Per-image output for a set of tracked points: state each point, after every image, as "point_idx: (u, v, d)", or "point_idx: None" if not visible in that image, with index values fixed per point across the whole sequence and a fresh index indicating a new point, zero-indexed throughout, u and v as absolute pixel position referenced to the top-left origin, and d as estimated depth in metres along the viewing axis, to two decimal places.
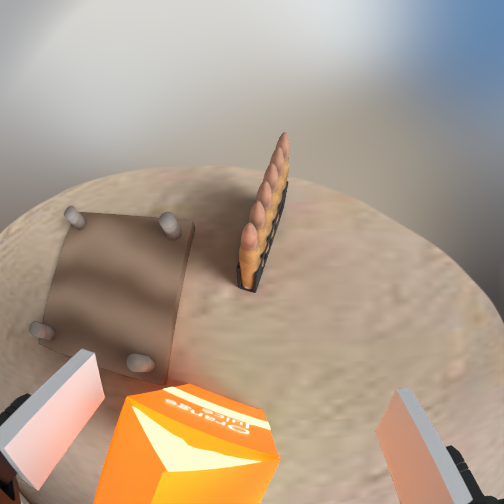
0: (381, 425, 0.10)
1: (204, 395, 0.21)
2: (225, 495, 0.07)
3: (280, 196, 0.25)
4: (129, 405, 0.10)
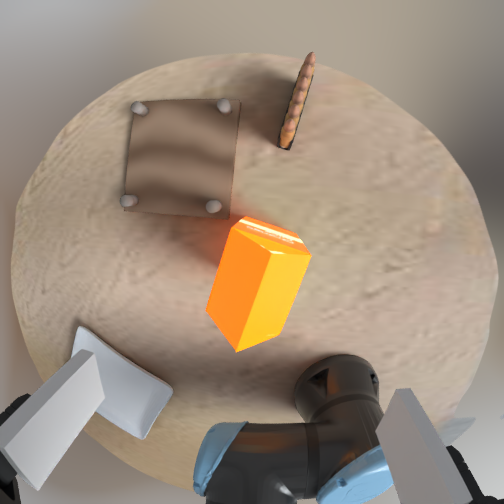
0: (382, 425, 0.10)
1: (259, 223, 0.36)
2: (288, 271, 0.23)
3: (307, 88, 0.30)
4: (235, 232, 0.25)
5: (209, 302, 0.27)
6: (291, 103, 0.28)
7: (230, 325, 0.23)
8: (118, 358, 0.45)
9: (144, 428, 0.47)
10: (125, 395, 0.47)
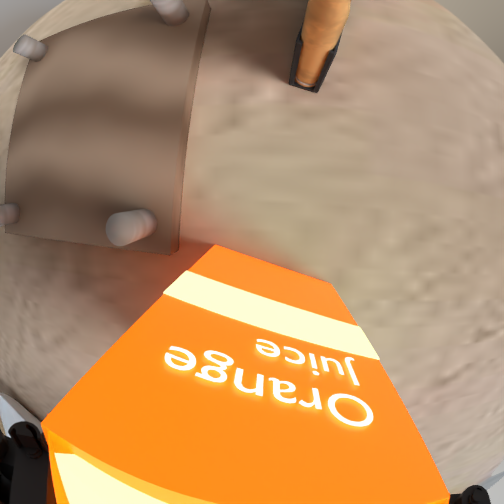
0: None
1: (243, 272, 0.13)
2: None
3: None
4: (52, 467, 0.02)
5: None
6: None
7: None
8: None
9: None
10: None
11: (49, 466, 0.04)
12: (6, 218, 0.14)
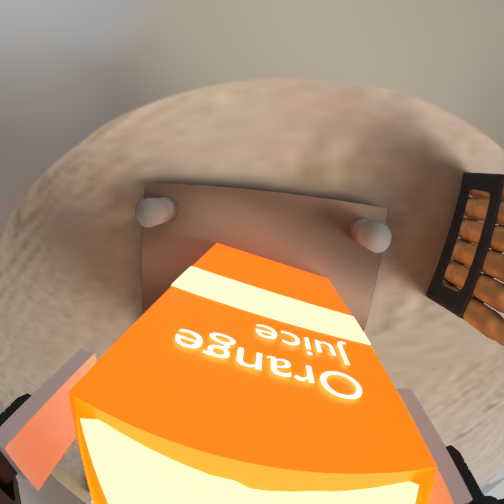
0: None
1: (244, 267, 0.14)
2: None
3: None
4: (77, 430, 0.03)
5: None
6: None
7: None
8: None
9: None
10: None
11: None
12: None
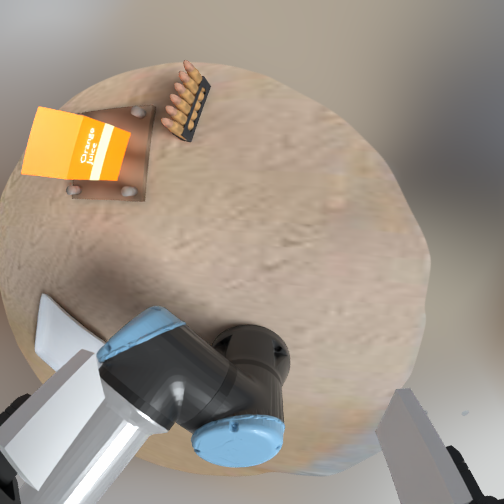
0: (381, 425, 0.10)
1: None
2: (58, 122, 0.25)
3: (195, 88, 0.36)
4: None
5: None
6: (174, 104, 0.34)
7: None
8: (71, 321, 0.51)
9: None
10: None
11: None
12: (76, 191, 0.43)
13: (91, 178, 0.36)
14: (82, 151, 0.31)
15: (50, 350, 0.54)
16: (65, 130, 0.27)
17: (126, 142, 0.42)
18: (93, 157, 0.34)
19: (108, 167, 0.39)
